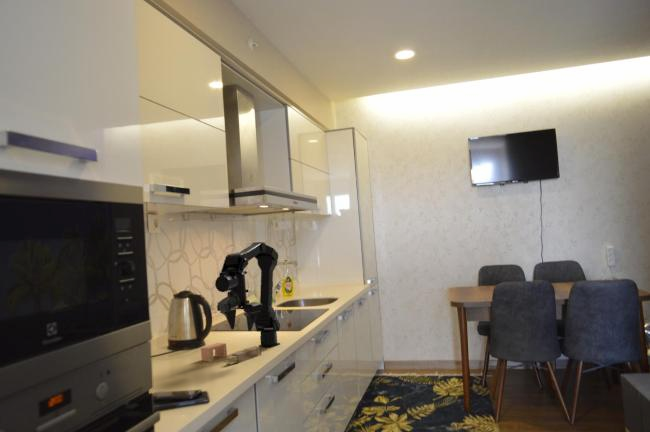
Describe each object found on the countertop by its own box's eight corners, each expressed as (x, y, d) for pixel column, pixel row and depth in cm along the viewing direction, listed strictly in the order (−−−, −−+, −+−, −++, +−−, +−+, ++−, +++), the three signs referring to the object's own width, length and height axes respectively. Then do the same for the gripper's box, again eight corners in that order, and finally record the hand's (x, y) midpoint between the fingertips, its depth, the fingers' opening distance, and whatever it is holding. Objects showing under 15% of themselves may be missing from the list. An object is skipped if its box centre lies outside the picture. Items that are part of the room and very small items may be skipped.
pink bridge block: (218, 354, 184) (217, 342, 184) (226, 356, 181) (226, 343, 181) (201, 360, 178) (200, 347, 178) (210, 361, 175) (209, 348, 175)
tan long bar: (255, 354, 181) (255, 346, 181) (261, 354, 179) (260, 346, 179) (226, 364, 169) (225, 356, 169) (232, 365, 167) (231, 357, 167)
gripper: (204, 290, 174) (207, 333, 174) (238, 291, 163) (242, 337, 163) (227, 286, 183) (230, 326, 183) (261, 286, 172) (265, 329, 172)
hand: (241, 330), depth 175 cm, fingers open, 9 cm apart
